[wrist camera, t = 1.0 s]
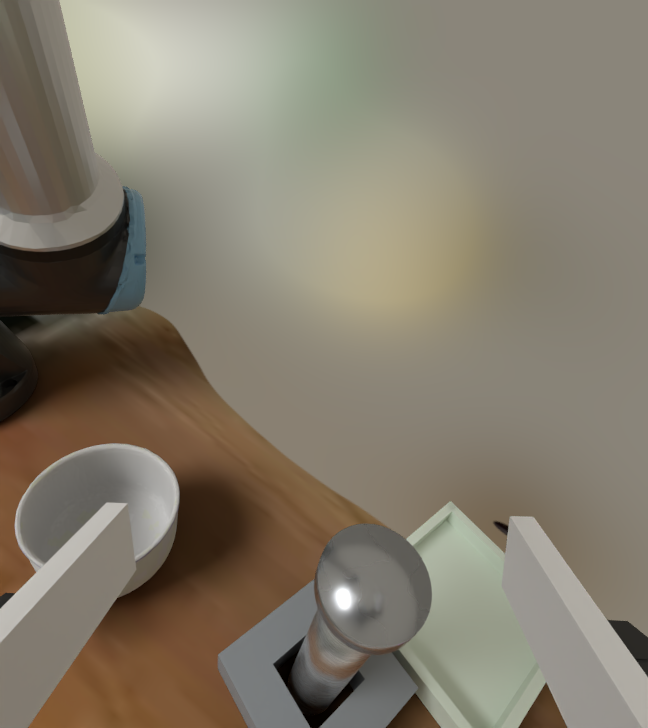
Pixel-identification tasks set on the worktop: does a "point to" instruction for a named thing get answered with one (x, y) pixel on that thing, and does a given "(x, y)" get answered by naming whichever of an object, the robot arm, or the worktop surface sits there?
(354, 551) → the pin
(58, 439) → the worktop surface
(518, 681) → the tray
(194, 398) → the worktop surface
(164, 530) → the teacup
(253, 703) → the socket block
